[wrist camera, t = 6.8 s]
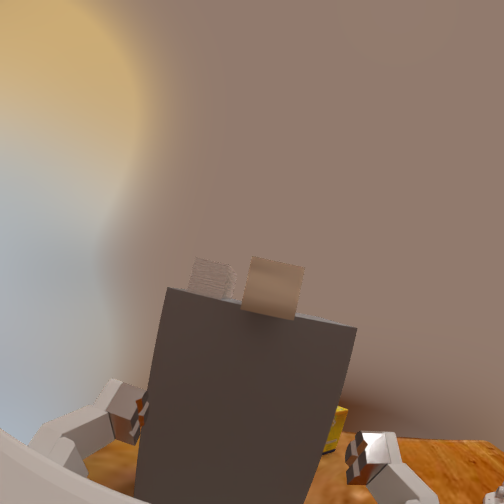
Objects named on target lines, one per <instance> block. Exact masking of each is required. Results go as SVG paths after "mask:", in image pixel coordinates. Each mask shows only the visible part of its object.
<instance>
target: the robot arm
mask: <svg viewBox="0 0 504 504" xmlns="http://www.w3.org/2000/svg"><path fill="white" fill-rule="evenodd" d="M148 397H149V394H148V391H146V390H143V389H140V388H138V387H135V386H132V385H129V384H127V383H124V382H121V381H119V380H116V379H113V378H112V379H110V380H109V381H108V382H107V384H106V386H105V387H104V389H103V390H102V392H101V393H100V395H99V396H98V398H97V400H96V401H95V403H94V404H93V406H91V405H87V406H85V407H83V408H81V409H78V410H76V411H73V412H71V413H69V414H66V415H64V416H62V417H59V418H57V419H54V420H52V421H49V422H47V423H44V424H43V425H42V426H41V427H40V429H39V430H38V431H37V433H36V434H35V436H34V437H33V439H32V440H31V441H30V443H29V445H28V446H26V445H25V444H23V443H21V442H20V441H18V440H17V439H15V438H14V437H12V436H11V435H9V434H8V433H6V432H5V431H3V430H2V429H1V428H0V504H151V503H148V502H145V501H142V500H139V499H136V498H133V497H130V496H128V495H125V494H122V493H120V492H117V491H115V490H112V489H110V488H107V487H105V486H103V485H100V484H98V483H96V482H94V481H91V480H89V479H87V476H88V474H89V473H88V470H87V468H86V466H85V464H84V462H83V459H85V458H86V457H88V456H90V455H91V454H93V453H95V452H96V451H98V450H100V449H101V448H103V447H104V446H106V445H108V444H109V443H111V442H112V441H114V440H115V439H117V440H119V441H122V442H125V443H128V444H131V445H134V446H135V445H136V442H137V440H138V438H139V436H140V434H141V432H140V427H142V426H143V425H145V423H146V421H147V418H148V414H149V403H148V402H147V399H148ZM345 462H346V464H347V465H348V466H349V469H348V470H347V471H346V475H347V485H366V487H367V488H368V490H369V491H370V493H371V494H372V496H373V497H374V498H375V500H376V501H377V503H378V504H439V501H438V496H437V495H436V494H435V493H434V492H433V491H432V490H431V489H430V488H429V487H428V486H427V485H426V484H425V483H424V482H423V481H422V480H421V479H420V478H419V477H418V476H417V475H416V474H415V473H414V472H413V471H412V470H411V469H410V468H409V467H408V466H407V465H406V464H405V463H402V460H401V455H400V451H399V447H398V443H397V438H396V435H395V433H394V432H379V431H359V432H357V434H356V435H355V440H354V441H352V442H350V444H349V445H348V447H347V450H346V454H345ZM483 504H504V482H503V484H502V486H500V487H498V488H497V490H496V492H492V493H488V494H486V495H485V497H484V499H483Z"/></svg>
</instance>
